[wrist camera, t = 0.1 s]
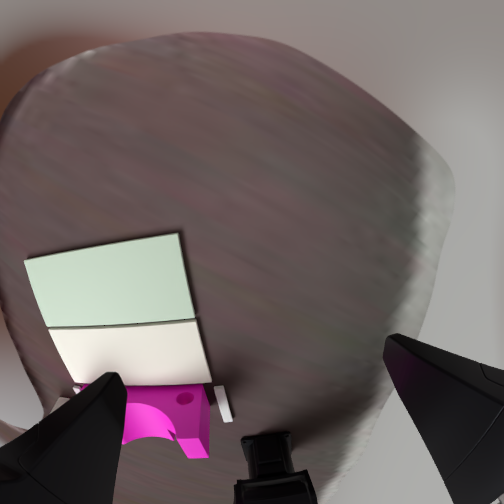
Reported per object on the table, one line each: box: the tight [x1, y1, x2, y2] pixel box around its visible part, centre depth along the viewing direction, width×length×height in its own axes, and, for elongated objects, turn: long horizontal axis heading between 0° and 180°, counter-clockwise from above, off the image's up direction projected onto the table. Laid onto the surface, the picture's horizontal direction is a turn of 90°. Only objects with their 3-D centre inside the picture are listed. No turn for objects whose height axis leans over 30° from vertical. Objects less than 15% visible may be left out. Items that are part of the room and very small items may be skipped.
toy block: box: [81, 384, 210, 458], centre depth 23 cm, size 15×6×8 cm, turn 97°
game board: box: [24, 233, 233, 422], centre depth 24 cm, size 22×19×1 cm
